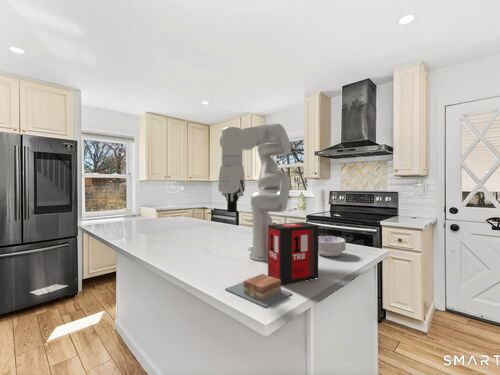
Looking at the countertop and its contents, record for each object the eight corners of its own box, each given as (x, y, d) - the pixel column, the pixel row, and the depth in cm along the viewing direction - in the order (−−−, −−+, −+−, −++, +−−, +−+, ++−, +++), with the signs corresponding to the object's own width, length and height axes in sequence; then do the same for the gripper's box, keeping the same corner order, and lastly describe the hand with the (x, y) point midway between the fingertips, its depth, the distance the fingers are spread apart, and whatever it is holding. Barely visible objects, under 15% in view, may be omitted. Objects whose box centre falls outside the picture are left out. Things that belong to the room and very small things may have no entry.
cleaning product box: (303, 271, 107) (303, 222, 106) (318, 278, 99) (318, 225, 98) (267, 277, 100) (268, 224, 99) (280, 285, 92) (280, 228, 91)
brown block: (243, 280, 84) (262, 287, 79) (262, 273, 91) (281, 279, 85) (243, 293, 84) (262, 301, 79) (262, 285, 91) (280, 292, 85)
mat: (225, 289, 88) (225, 288, 88) (252, 279, 97) (252, 278, 97) (265, 308, 75) (265, 306, 75) (292, 294, 84) (292, 293, 84)
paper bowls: (313, 257, 127) (313, 241, 127) (313, 249, 141) (313, 235, 141) (347, 259, 123) (347, 242, 123) (343, 251, 138) (343, 236, 138)
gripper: (211, 162, 99) (211, 211, 99) (238, 160, 88) (238, 214, 88) (226, 163, 104) (226, 209, 104) (254, 161, 93) (253, 213, 94)
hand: (232, 212), depth 96 cm, fingers closed
